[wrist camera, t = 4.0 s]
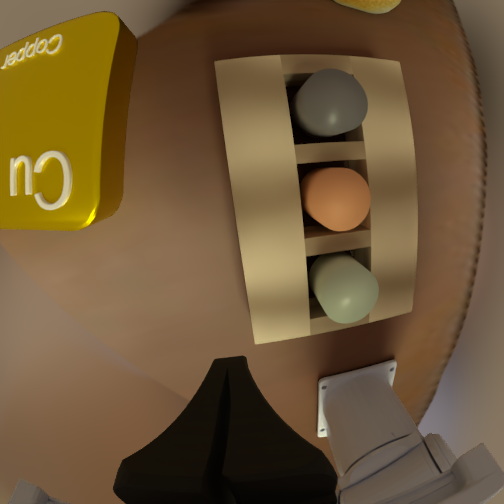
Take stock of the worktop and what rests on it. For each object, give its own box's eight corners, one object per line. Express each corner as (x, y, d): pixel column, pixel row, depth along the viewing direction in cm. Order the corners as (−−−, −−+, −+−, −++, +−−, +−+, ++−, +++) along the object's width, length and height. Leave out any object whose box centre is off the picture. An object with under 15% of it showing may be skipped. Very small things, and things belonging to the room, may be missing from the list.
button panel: (394, 295, 22) (411, 311, 19) (252, 322, 21) (255, 344, 19) (379, 72, 16) (399, 61, 14) (217, 76, 16) (214, 61, 13)
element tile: (143, 29, 15) (123, 0, 10) (125, 220, 19) (96, 235, 15) (8, 67, 14) (-23, 58, 9) (-4, 219, 18) (-37, 230, 14)
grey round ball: (348, 137, 16) (372, 131, 13) (294, 140, 16) (308, 133, 13) (340, 85, 15) (361, 70, 12) (286, 86, 15) (298, 68, 12)
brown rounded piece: (350, 217, 19) (371, 227, 16) (301, 223, 19) (314, 235, 16) (346, 165, 18) (368, 165, 15) (295, 169, 18) (308, 170, 15)
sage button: (357, 294, 20) (377, 316, 16) (310, 303, 20) (323, 328, 16) (356, 246, 19) (379, 263, 15) (306, 254, 19) (321, 273, 15)
